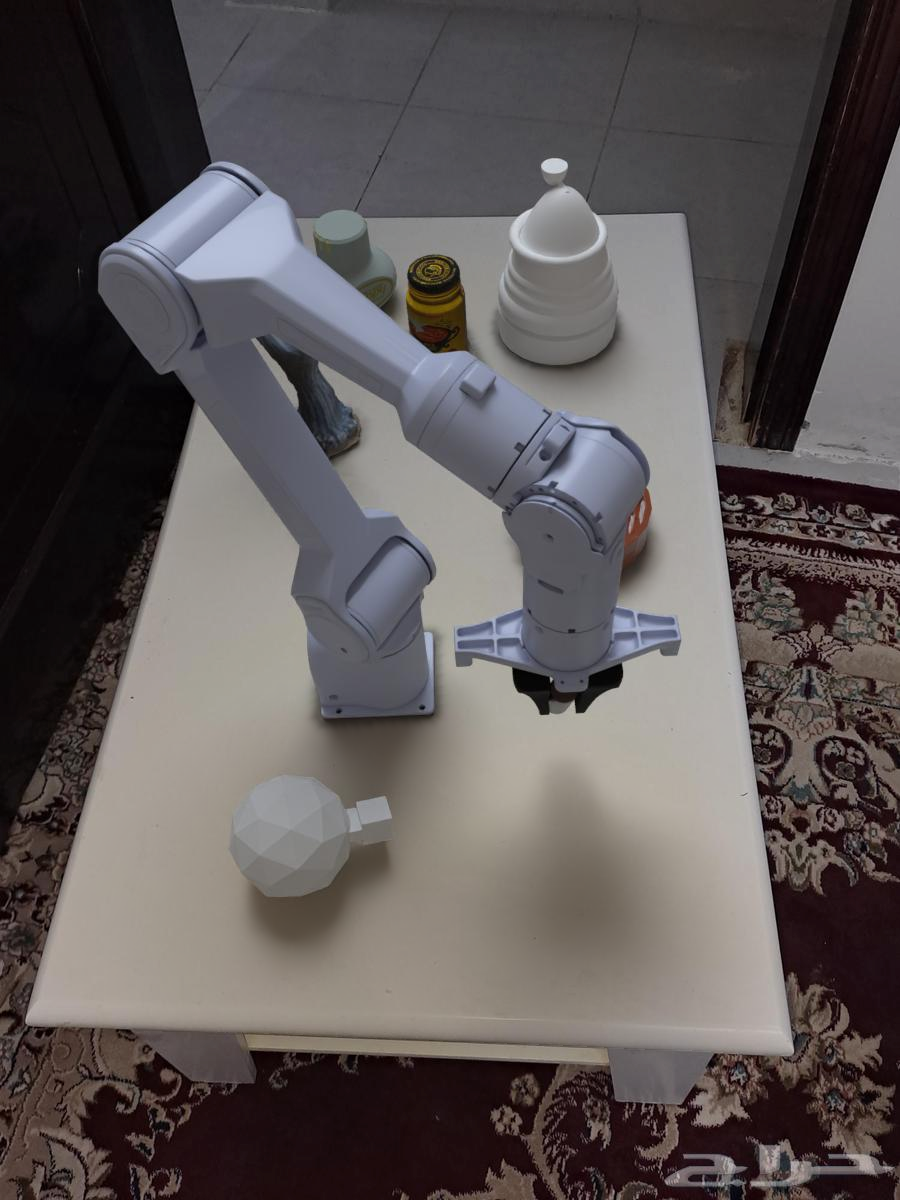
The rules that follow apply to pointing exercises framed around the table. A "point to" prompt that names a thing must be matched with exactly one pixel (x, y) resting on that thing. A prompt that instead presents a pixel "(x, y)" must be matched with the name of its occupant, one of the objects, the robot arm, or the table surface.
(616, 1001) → the table surface
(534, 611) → the robot arm
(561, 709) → the stick
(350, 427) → the antler
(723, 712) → the table surface
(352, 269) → the air freshener
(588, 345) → the honey pot
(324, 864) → the perfume bottle
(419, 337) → the condiment
